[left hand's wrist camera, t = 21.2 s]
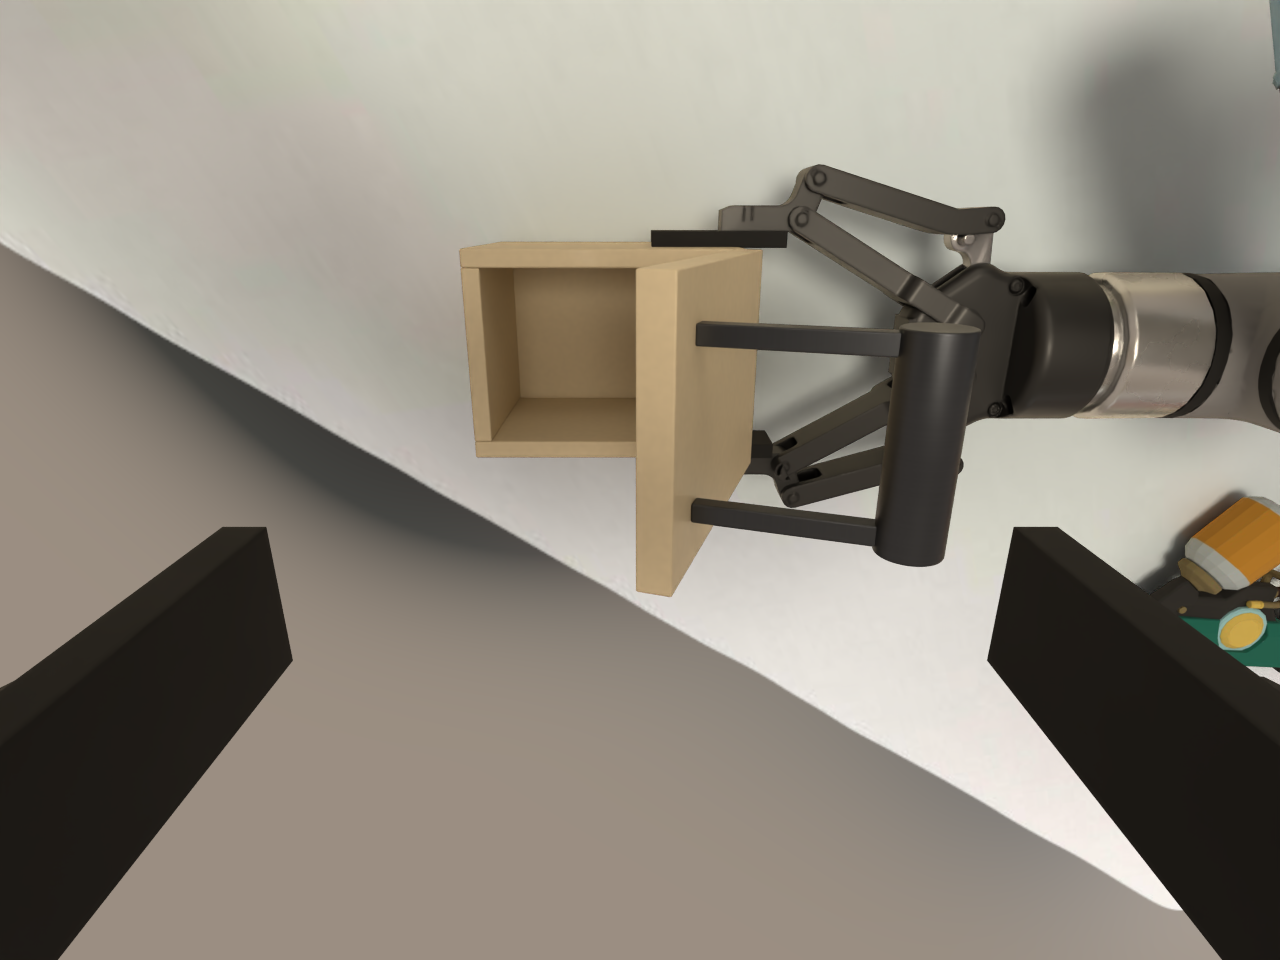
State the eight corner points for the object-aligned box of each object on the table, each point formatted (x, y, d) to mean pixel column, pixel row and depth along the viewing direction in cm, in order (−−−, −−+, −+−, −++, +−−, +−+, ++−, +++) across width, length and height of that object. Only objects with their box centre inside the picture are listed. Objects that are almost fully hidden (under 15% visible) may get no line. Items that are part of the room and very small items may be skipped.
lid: (635, 592, 23) (941, 643, 20) (634, 268, 19) (1003, 276, 17) (726, 460, 35) (923, 481, 32) (735, 249, 32) (957, 252, 29)
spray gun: (1410, 532, 49) (1263, 696, 54) (1220, 454, 46) (1084, 637, 51) (1479, 563, 45) (1314, 737, 50) (1277, 480, 42) (1124, 675, 47)
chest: (510, 407, 45) (476, 457, 36) (499, 241, 42) (458, 248, 32) (716, 407, 45) (736, 457, 36) (722, 242, 42) (747, 248, 32)
